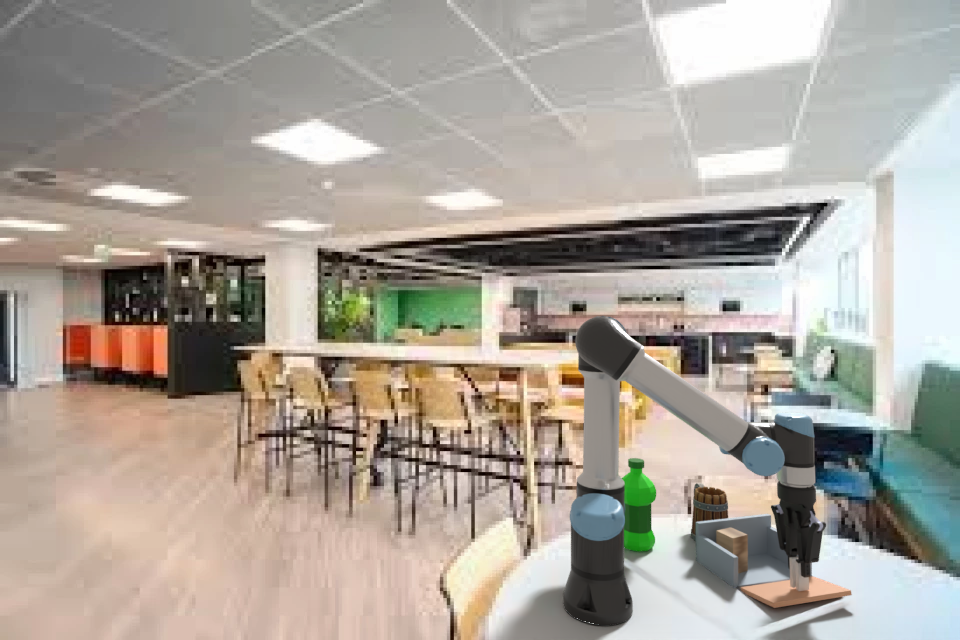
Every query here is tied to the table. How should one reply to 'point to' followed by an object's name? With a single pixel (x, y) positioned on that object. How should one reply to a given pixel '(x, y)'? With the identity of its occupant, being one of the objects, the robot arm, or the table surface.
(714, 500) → the mug
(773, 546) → the box
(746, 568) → the wooden block
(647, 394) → the robot arm
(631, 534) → the plastic bottle
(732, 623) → the table surface
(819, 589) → the panel
